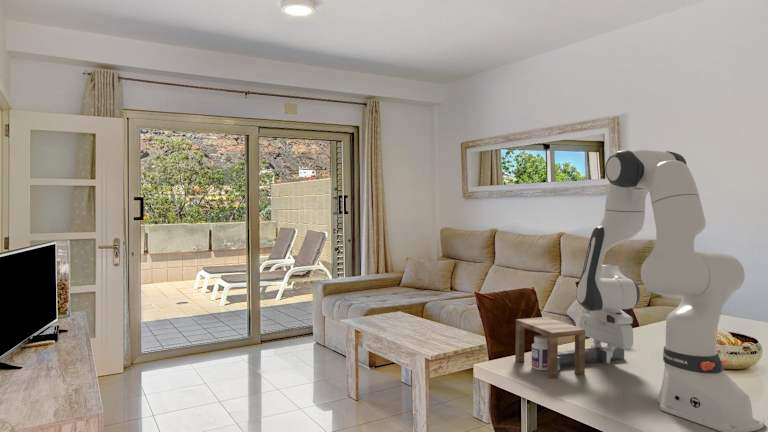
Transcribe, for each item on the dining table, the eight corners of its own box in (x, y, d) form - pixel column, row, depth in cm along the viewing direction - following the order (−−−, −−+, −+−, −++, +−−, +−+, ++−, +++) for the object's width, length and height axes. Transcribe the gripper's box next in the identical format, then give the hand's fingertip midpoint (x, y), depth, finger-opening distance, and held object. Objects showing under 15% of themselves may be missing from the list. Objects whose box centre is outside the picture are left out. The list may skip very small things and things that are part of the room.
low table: (584, 374, 149) (585, 329, 149) (551, 378, 145) (552, 332, 145) (545, 357, 166) (546, 316, 166) (515, 360, 162) (515, 319, 162)
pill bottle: (548, 366, 157) (549, 335, 157) (550, 371, 152) (550, 339, 152) (531, 364, 158) (531, 334, 158) (531, 370, 153) (532, 338, 153)
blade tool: (630, 361, 162) (631, 349, 162) (555, 371, 152) (556, 358, 152) (612, 354, 170) (612, 342, 169) (539, 363, 160) (539, 350, 160)
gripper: (575, 307, 172) (574, 347, 172) (621, 320, 153) (620, 365, 153) (589, 306, 174) (589, 345, 174) (637, 319, 155) (636, 363, 155)
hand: (604, 355), depth 163 cm, fingers closed on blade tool, 2 cm apart
